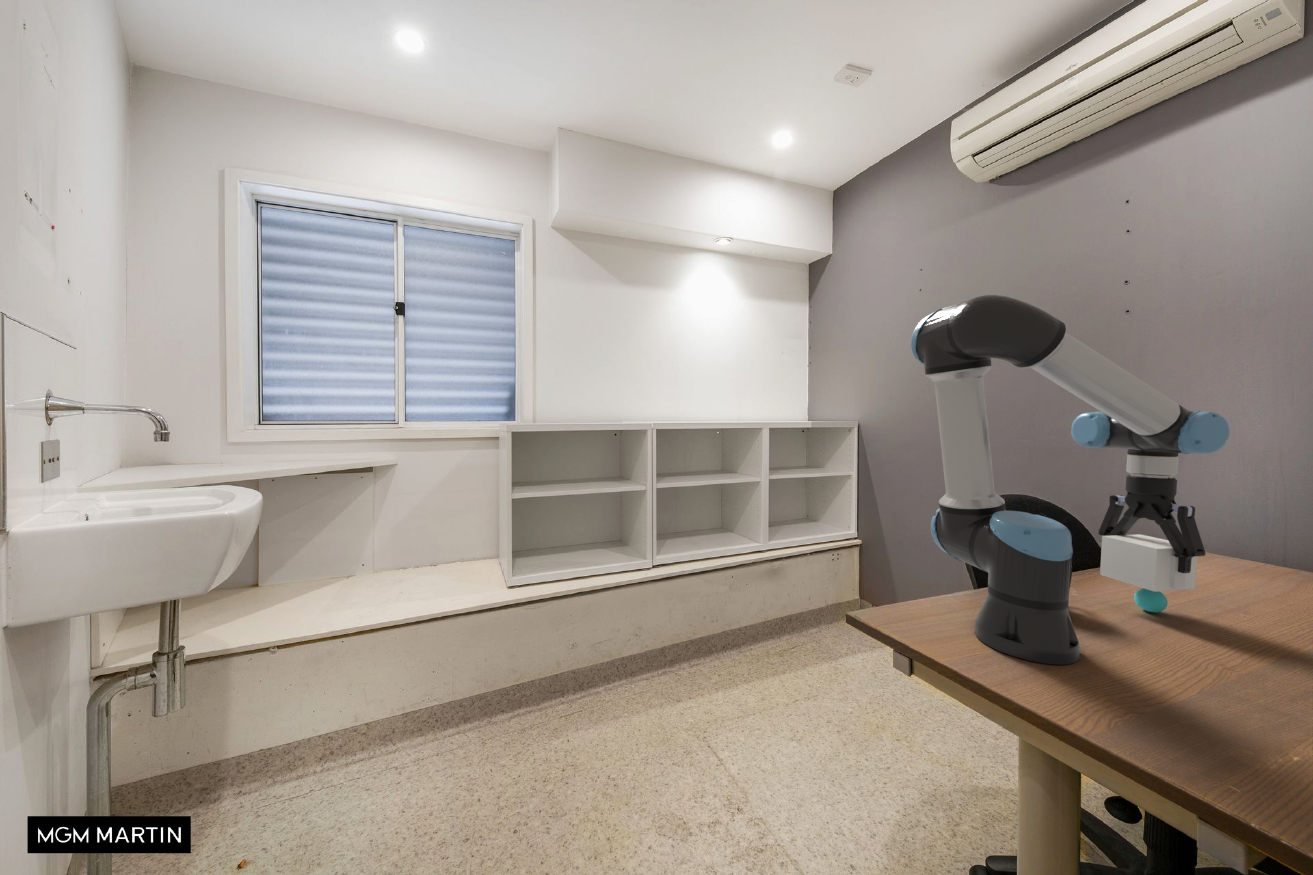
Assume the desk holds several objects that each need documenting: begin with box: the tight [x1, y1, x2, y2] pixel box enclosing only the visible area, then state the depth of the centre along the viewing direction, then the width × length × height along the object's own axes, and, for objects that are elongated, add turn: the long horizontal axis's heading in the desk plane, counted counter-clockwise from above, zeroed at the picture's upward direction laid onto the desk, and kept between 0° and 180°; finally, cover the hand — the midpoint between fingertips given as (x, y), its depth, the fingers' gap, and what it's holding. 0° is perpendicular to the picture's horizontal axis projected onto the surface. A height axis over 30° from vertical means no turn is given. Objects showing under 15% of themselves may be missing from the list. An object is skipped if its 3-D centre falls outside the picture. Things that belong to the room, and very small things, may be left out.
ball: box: [1133, 588, 1169, 613], centre depth 102 cm, size 5×5×5 cm
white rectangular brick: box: [1099, 533, 1198, 592], centre depth 101 cm, size 10×10×9 cm
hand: (1145, 578), depth 101 cm, fingers closed on white rectangular brick, 10 cm apart
